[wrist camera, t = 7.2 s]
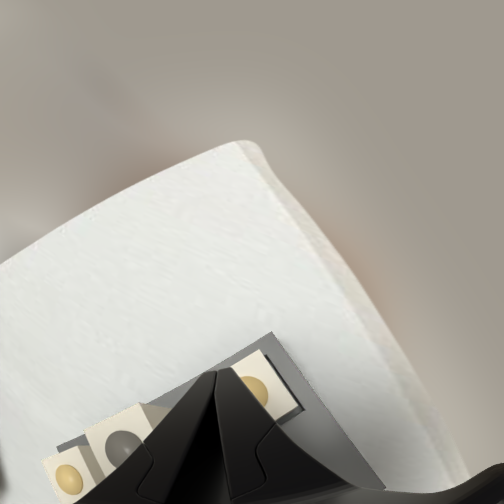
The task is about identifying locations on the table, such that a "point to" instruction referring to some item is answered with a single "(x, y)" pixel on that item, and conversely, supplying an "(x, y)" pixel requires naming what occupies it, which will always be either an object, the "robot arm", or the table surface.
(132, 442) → the middle key
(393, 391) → the table surface
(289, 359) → the console
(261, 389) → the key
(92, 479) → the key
